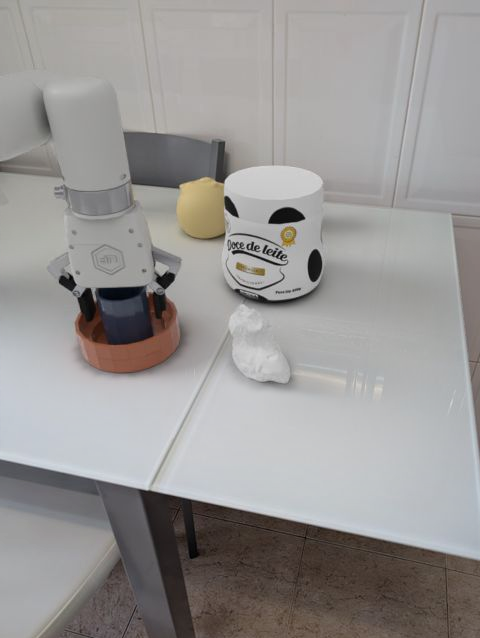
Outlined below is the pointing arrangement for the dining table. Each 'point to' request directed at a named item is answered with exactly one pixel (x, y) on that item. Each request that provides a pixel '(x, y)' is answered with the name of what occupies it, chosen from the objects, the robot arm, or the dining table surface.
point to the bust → (256, 347)
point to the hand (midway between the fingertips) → (125, 315)
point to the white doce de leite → (273, 232)
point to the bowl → (130, 354)
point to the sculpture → (202, 208)
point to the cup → (125, 314)
